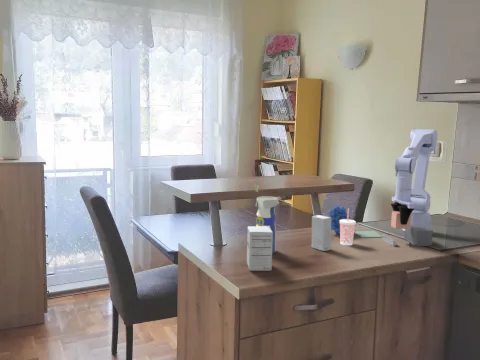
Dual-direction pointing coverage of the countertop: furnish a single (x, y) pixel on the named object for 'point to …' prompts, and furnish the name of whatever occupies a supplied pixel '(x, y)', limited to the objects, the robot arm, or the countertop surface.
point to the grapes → (337, 217)
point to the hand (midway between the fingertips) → (401, 222)
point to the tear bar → (388, 240)
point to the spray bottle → (267, 214)
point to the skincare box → (321, 232)
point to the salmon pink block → (396, 221)
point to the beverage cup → (347, 230)
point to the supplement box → (259, 248)
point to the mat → (367, 234)
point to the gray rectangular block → (419, 235)
